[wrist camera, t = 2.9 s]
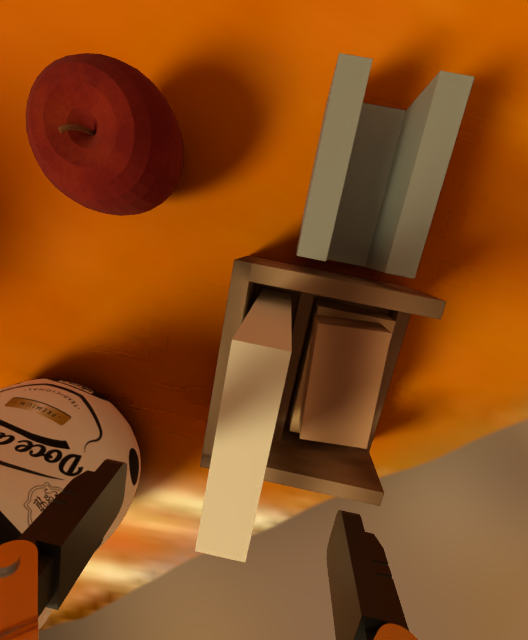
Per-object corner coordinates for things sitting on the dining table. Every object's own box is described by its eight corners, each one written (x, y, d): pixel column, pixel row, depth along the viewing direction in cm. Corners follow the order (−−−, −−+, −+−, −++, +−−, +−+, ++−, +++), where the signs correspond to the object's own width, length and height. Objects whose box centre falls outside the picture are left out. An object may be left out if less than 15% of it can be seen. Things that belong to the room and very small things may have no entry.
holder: (426, 119, 26) (474, 76, 19) (385, 270, 29) (414, 278, 22) (326, 101, 26) (339, 53, 20) (295, 252, 29) (296, 255, 23)
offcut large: (383, 312, 29) (395, 321, 25) (352, 424, 31) (359, 445, 28) (315, 298, 29) (318, 306, 26) (289, 410, 32) (289, 431, 28)
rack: (405, 286, 29) (446, 301, 21) (359, 444, 33) (379, 506, 25) (249, 255, 30) (234, 259, 22) (221, 414, 33) (200, 466, 26)
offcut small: (380, 322, 26) (391, 333, 23) (358, 427, 28) (366, 448, 25) (315, 314, 26) (318, 323, 23) (298, 418, 28) (299, 438, 25)
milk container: (113, 346, 33) (-90, 465, 15) (176, 493, 36) (69, 729, 19) (-31, 391, 35) (-348, 537, 18) (40, 525, 39) (-168, 759, 21)
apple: (156, 75, 27) (81, -20, 17) (223, 178, 28) (189, 145, 19) (72, 148, 29) (-39, 99, 19) (139, 242, 30) (68, 241, 20)
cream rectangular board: (291, 293, 29) (291, 351, 14) (267, 406, 32) (245, 562, 16) (263, 288, 29) (231, 339, 14) (241, 400, 32) (195, 550, 16)
